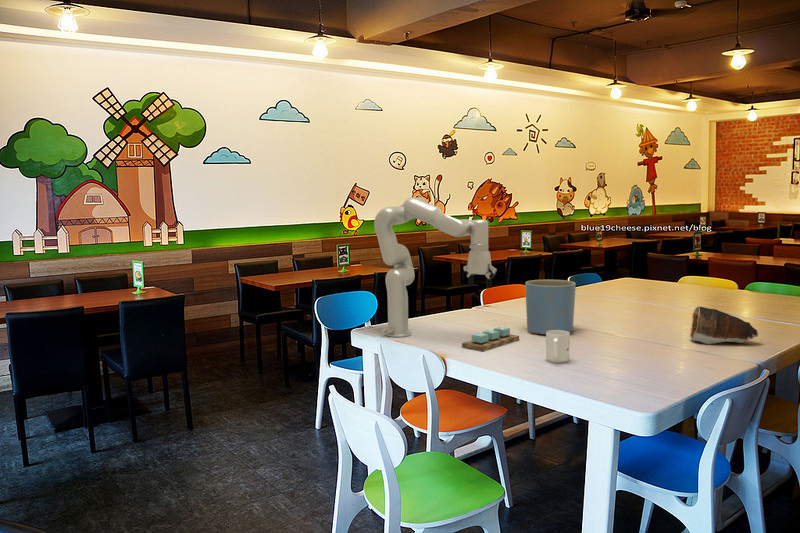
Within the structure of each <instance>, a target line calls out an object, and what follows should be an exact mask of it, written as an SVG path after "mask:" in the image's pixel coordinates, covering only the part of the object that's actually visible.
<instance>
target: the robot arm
mask: <svg viewBox="0 0 800 533" xmlns="http://www.w3.org/2000/svg"><path fill="white" fill-rule="evenodd" d="M415 219H417V220H419V221H421V222H424V223H426V224H428V225H430V226H431V227H433V228H435V229H437V230H438V231H441V232H443V233H445V234H446V235H449V236H452V237H455V238H462V237H463V238H464V237H468V236H470V244H469V246H468V248H469V249H470V251H469V252H468V257H467V264H466V265H464V266H463V271H464V274H465V275H466V277H467V282H468V284H467V285H468V287H473V286H474V285H475V281H474V280H475V278H474V275H480V276H481V275H482V276H483V275H484V276H485V277H486V278H487V279H486V280H485V281H486V282H485V287H486V289H492V288H493V287H492V286H493V279H494V277H495V276H496V274H497V271H498V268H496V267H494V266H493V265H492V259H491V252H490V251H489V221H488V220H487V219H467V218H461V219H457V218H455V217H452V216H450V215H448V214H446V213H444V212H443V211H442V210H441V208H440V207H439V206H436V205H434V204H431V203H429V202H428V201H426V199H424V198H423V197H419V196H417V197H414V196H413V197H408V198H407V199H405V201H404V203H403V204H401V205H398V206H387V207H384V208H382V209H380V210H379V211H378V213H377V214H376V215H375V218H374V222H373V226H374V231H375V234H376V237H377V240H378V246H379V248H380V249H379V250H380V253H381V256H382V260H383V263H385V265H387V266H393V267H394V268H391V269H389V270H388V271H387V273H386V274H385V287H386V294H387V325H386V328H381V329H380V332H381V333H380V334H384V335H385V336H387V337H390V338H406V337H409V336H411V335H412V333H413V332H412V331H411V330H409V296H408V295H409V294H408V290H407V286H410V285H411V284H412V283H413V282H414V280H415V276H416V275H415V269H414V265H413V261H412V258H411V254H410V251H409V249H408V248H407V247H406V246H405V245H404V244H400V243H399V242H398V238H397V236H396V235H397V234H396V233H395V231H394V229H393V226H395V225H396V226H397V225H402V224H404V223H407V222H410V221H411V220H415Z"/></svg>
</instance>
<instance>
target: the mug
mask: <svg viewBox="0 0 800 533" xmlns="http://www.w3.org/2000/svg"><path fill="white" fill-rule="evenodd" d="M570 337H571V332H567V331H563V330H550V331H547V332H546V334H545V358H546V360H547V361H548V362H550V363H554V364H564V363H567V362H568V361H570V357H571V356H570V353H571V352H570V351H571V350H570V348H571V347H570V346H571V345H570V344H571V338H570Z"/></svg>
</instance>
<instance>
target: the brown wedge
mask: <svg viewBox="0 0 800 533" xmlns="http://www.w3.org/2000/svg"><path fill="white" fill-rule="evenodd" d="M691 318H692V319H691V320H692V321H691V328H690V334H689V341H693V342H697V343H701V344H705V345H713V344H717V343H718V344H719V343H724V342H726V343H727V342H729V343H730V342H731V343H738V344H739V343H741V344H742V343H745V342H747V341H750V340H754V339H755V338H757V337H759V333H758V332H759V331H758V330H757V329H756V328H754V327H753V326H752V325H751V324H752V323H750V322H749V321H745V320H744V319H741V318H740V317H737V316H735V315H731V314H729V313H726V312H725V311H724V312H723V311H721V310H718V309H717V308H708V307H704V306H697V307H695V308H694V310H693V313H692V317H691Z"/></svg>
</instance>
